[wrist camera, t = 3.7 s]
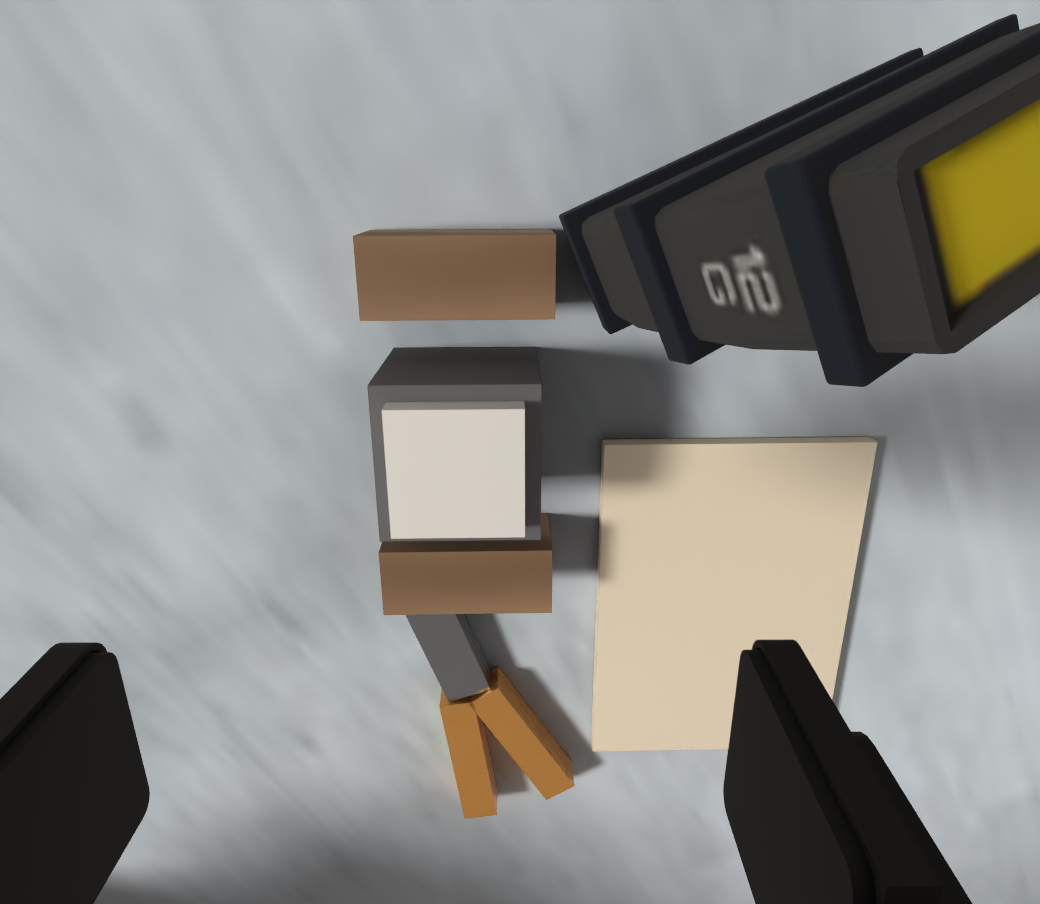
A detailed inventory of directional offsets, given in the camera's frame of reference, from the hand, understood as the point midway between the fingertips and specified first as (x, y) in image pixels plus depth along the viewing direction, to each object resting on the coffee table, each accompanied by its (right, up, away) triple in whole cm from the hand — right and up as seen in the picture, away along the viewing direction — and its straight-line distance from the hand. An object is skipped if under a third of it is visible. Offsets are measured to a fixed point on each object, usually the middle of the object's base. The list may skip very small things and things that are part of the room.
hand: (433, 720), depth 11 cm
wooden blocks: (-1, +5, +16) cm, 17 cm away
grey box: (-1, +5, +16) cm, 17 cm away
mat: (+9, -2, +19) cm, 21 cm away
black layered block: (+9, +13, +13) cm, 21 cm away
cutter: (-1, -6, +20) cm, 21 cm away
